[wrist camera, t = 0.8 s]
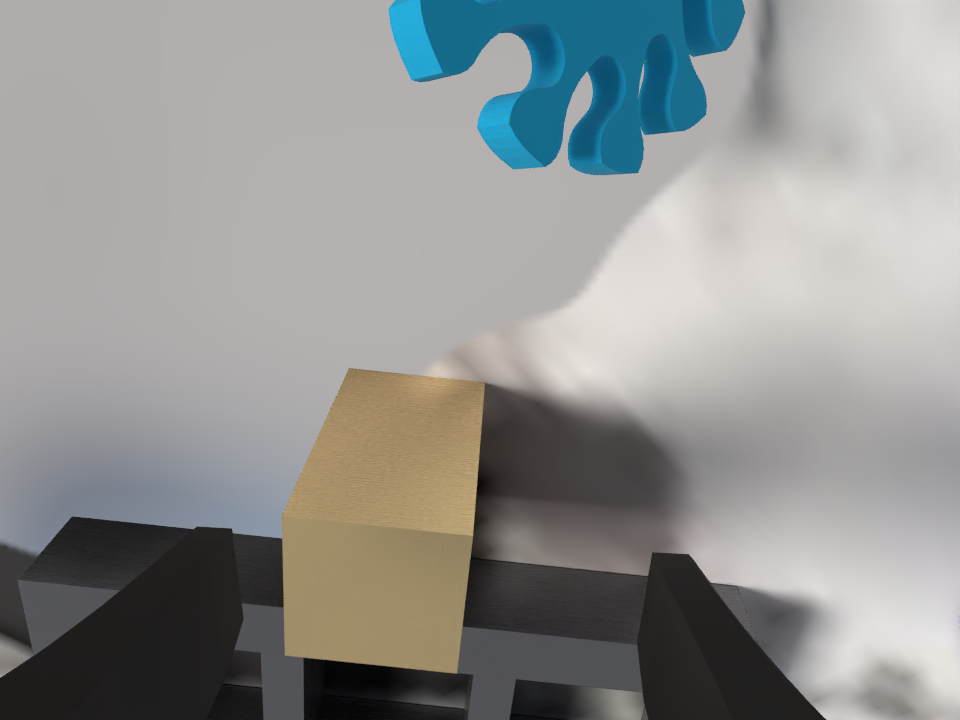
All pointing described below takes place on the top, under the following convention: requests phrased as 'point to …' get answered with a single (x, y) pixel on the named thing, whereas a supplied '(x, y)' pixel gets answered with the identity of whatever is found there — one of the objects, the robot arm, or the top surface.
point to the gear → (575, 69)
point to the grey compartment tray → (301, 681)
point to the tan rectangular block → (385, 524)
